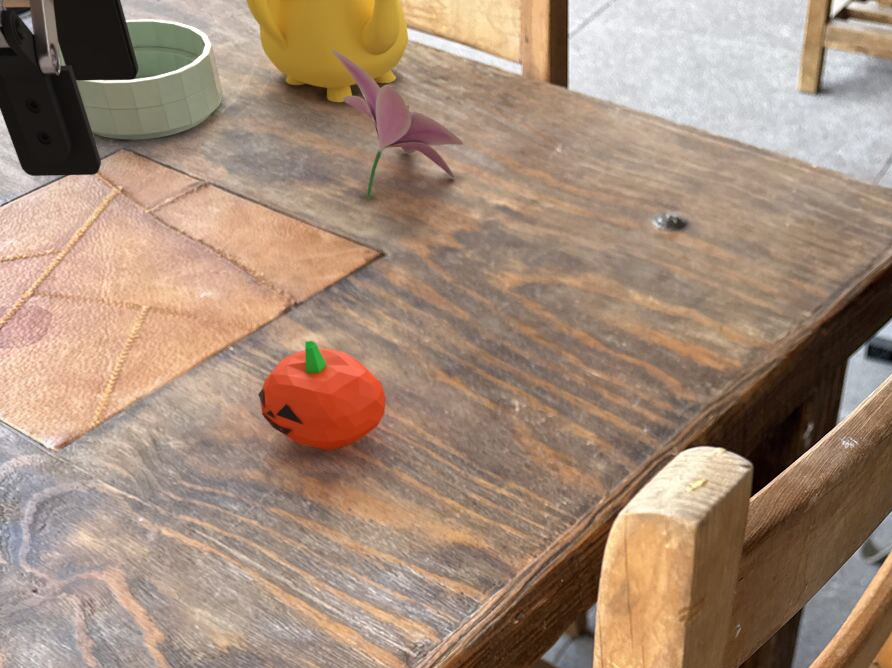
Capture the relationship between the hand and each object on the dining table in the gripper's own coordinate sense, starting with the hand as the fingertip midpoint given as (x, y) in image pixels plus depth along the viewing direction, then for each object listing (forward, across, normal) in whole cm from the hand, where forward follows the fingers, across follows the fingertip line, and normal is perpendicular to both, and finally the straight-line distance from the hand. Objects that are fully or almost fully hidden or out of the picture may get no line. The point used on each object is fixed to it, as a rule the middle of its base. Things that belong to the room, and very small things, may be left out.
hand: (86, 122), depth 52 cm
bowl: (+23, -61, -14) cm, 67 cm away
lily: (+24, -46, +10) cm, 53 cm away
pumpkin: (+24, -10, +7) cm, 27 cm away
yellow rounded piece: (+24, -66, +5) cm, 70 cm away
